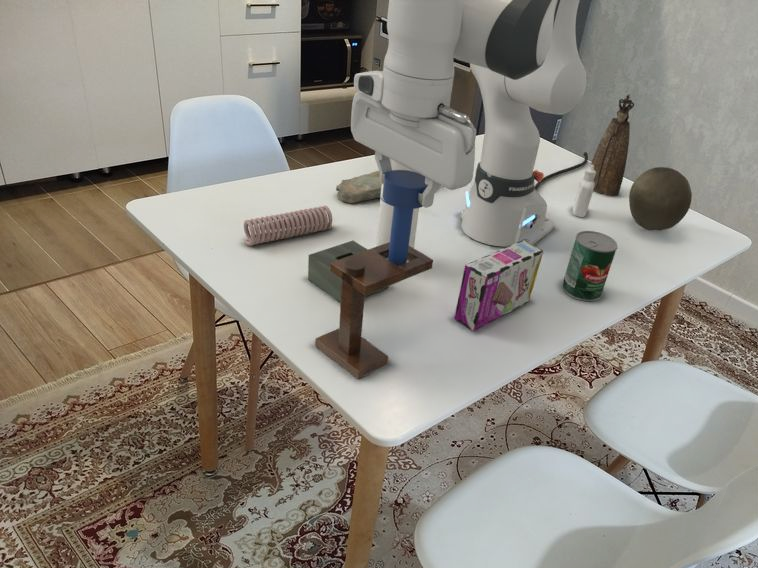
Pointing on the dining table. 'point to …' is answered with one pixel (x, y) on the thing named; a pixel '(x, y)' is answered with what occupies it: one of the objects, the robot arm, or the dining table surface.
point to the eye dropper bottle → (584, 193)
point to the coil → (287, 225)
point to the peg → (402, 209)
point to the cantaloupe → (659, 198)
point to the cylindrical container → (387, 215)
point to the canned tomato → (589, 265)
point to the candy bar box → (497, 284)
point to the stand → (357, 281)
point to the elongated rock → (360, 188)
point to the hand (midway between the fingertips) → (405, 194)
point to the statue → (613, 152)
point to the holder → (321, 267)
